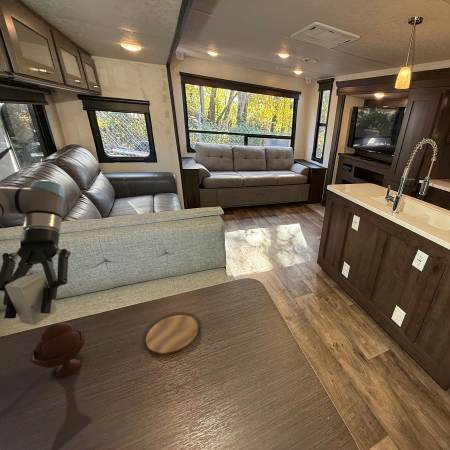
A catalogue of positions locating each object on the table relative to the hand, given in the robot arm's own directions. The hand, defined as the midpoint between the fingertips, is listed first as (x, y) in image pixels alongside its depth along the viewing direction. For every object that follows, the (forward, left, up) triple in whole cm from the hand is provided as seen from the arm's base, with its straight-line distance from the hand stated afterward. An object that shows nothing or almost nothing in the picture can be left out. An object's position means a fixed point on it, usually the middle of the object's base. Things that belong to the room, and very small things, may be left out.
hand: (28, 315), depth 64 cm
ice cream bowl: (+5, 0, -19) cm, 20 cm away
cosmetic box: (-1, +3, -4) cm, 5 cm away
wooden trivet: (+27, +16, -19) cm, 37 cm away
